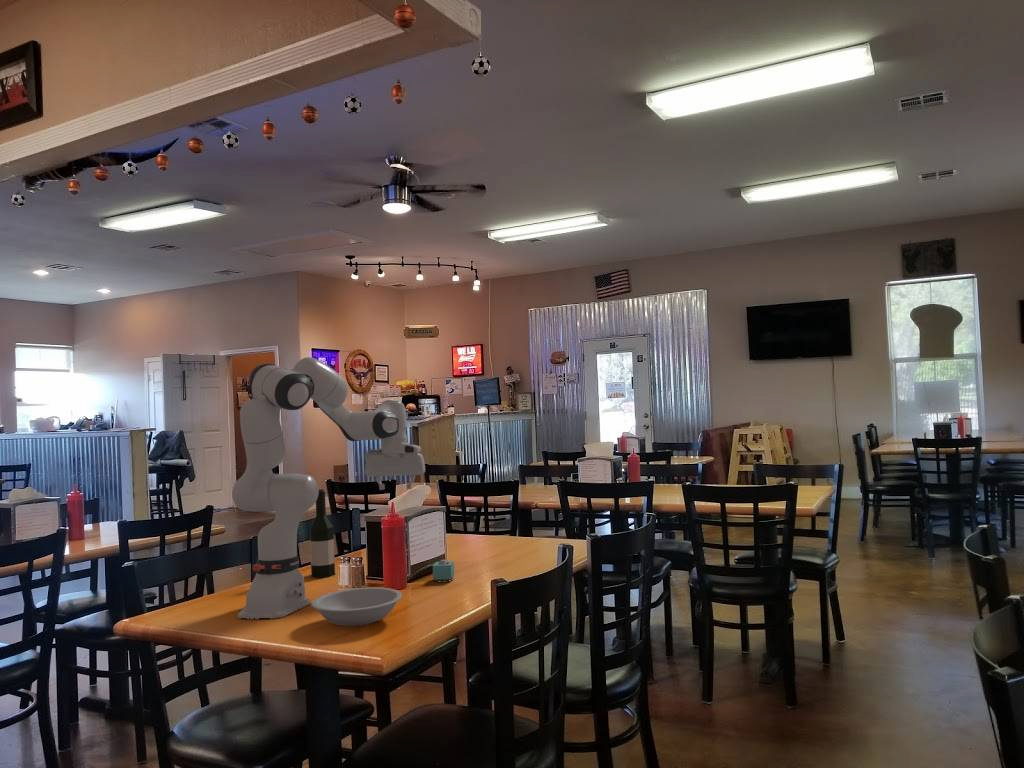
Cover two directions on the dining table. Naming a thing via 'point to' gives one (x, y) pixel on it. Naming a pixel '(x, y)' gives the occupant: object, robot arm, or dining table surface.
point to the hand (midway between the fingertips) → (395, 489)
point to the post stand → (443, 562)
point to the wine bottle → (322, 541)
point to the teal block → (443, 570)
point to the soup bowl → (357, 605)
